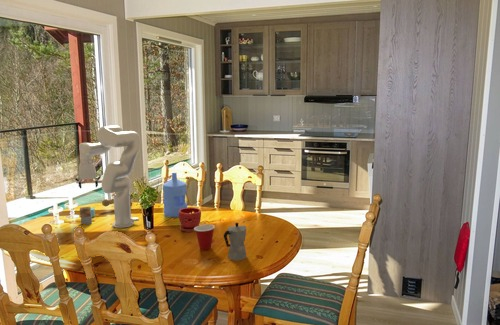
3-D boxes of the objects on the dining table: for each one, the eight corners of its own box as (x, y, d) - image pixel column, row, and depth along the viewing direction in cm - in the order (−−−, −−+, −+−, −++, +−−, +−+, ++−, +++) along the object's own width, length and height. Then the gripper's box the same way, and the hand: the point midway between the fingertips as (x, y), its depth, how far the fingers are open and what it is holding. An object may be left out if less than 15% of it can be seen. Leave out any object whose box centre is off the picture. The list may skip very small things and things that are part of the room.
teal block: (94, 214, 278) (94, 207, 277) (94, 217, 272) (94, 209, 271) (87, 215, 276) (87, 208, 276) (87, 217, 271) (86, 210, 270)
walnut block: (91, 214, 262) (90, 206, 261) (90, 216, 258) (90, 208, 257) (80, 215, 260) (80, 207, 259) (80, 217, 256) (79, 209, 255)
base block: (91, 221, 263) (91, 214, 262) (91, 224, 259) (91, 216, 258) (81, 222, 261) (81, 215, 260) (81, 225, 257) (80, 217, 256)
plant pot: (197, 233, 240) (196, 214, 237) (176, 232, 242) (175, 212, 240) (204, 226, 252) (203, 207, 250) (184, 225, 255) (183, 206, 253)
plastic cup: (205, 243, 225) (204, 222, 223) (219, 247, 219) (219, 226, 216) (190, 249, 217) (189, 227, 215) (204, 254, 210) (204, 231, 208)
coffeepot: (239, 250, 214) (239, 217, 211) (253, 255, 208) (252, 221, 205) (218, 260, 203) (217, 225, 200) (231, 265, 197) (230, 229, 194)
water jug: (159, 216, 272) (157, 175, 266) (170, 209, 286) (169, 170, 281) (181, 218, 267) (179, 176, 262) (191, 211, 282) (190, 171, 277)
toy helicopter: (133, 206, 294) (132, 188, 292) (105, 213, 280) (104, 193, 278) (128, 204, 300) (127, 186, 298) (100, 210, 286) (99, 191, 284)
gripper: (100, 160, 274) (102, 185, 277) (72, 161, 268) (74, 187, 272) (100, 162, 267) (102, 187, 270) (71, 163, 261) (73, 189, 265)
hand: (88, 187), depth 271 cm, fingers open, 9 cm apart
